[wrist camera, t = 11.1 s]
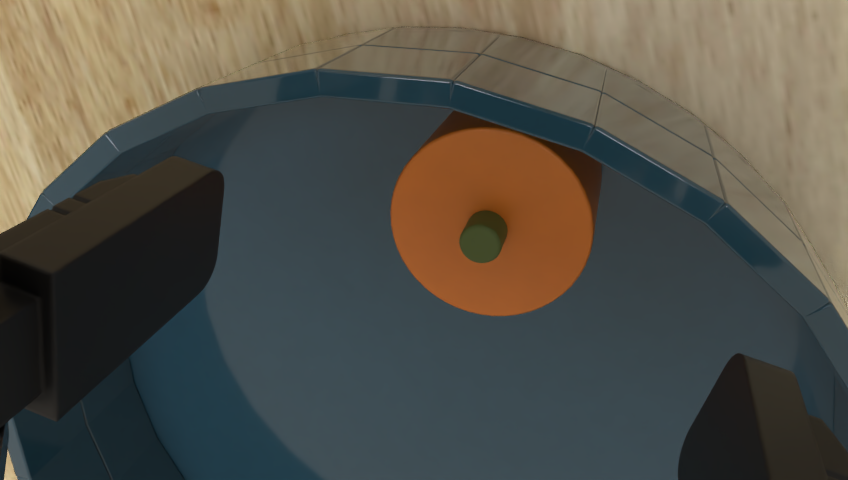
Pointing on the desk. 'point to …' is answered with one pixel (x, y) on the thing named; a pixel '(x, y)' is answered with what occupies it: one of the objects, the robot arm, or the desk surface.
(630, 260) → the bowl
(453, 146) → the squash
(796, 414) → the robot arm
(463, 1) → the desk surface
